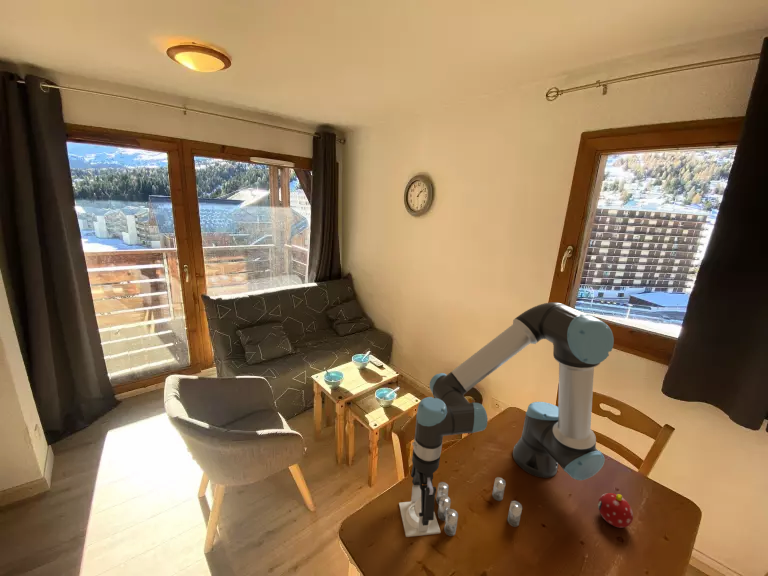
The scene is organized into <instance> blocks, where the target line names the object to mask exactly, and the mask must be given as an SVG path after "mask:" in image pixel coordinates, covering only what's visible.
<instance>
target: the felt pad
mask: <svg viewBox="0 0 768 576" xmlns="http://www.w3.org/2000/svg"><path fill="white" fill-rule="evenodd" d="M398 505H399V509H400V511H399V512H400V516H401V520H402V524H403V530H404V534H405V538H410V537H418V536H427V535H437V534H441V529H440V525H439V523H438V520H437V516H436V513H435V512H434V519H433V520H432V521H431V524H430V525H429V527H428V531H422V532H418V529H416V528H414V527H412V526H411V525H410V524H409V523H408V521H407V519H406V511H407V509H408V507H409V506H410V505H411V501H404V502H398ZM410 515H411V517H412V518H413V519H414V520H416V521H418V522H419V517H417V516H416V514H415V506H413V507H411V508H410Z"/></svg>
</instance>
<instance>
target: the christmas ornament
mask: <svg viewBox="0 0 768 576" xmlns="http://www.w3.org/2000/svg"><path fill="white" fill-rule="evenodd" d="M597 507H598V508H597V509H598V512H599V513H600V515H601V517H602V519H604V520H605V521H606V523H608V524H609V525H611V526H613V527H616V528H620V529H621V528H623V529H624V528H627V527H629V526H630V525H631V524H632V522H633V520H634V513H633V509H632V507H631V505H630V504H629V502H628V501H627V500H626V499H625V498H624V497H623V495H622V494H619V493H617V494H616V493H613V492H608V493H604V494H602V495H601V496H599V499H598V501H597Z"/></svg>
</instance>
